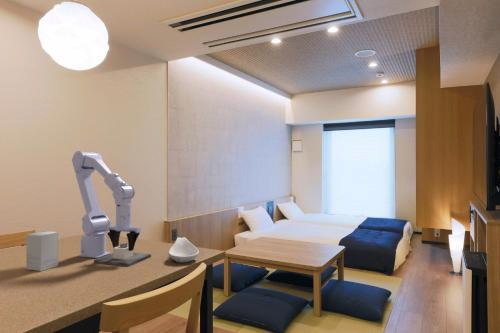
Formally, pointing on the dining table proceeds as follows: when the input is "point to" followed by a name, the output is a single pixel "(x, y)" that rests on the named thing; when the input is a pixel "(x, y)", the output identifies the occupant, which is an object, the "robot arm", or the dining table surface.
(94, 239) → the robot arm
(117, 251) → the white hollow block
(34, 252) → the supplement box
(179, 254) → the spoon rest
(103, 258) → the post board
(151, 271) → the dining table surface
